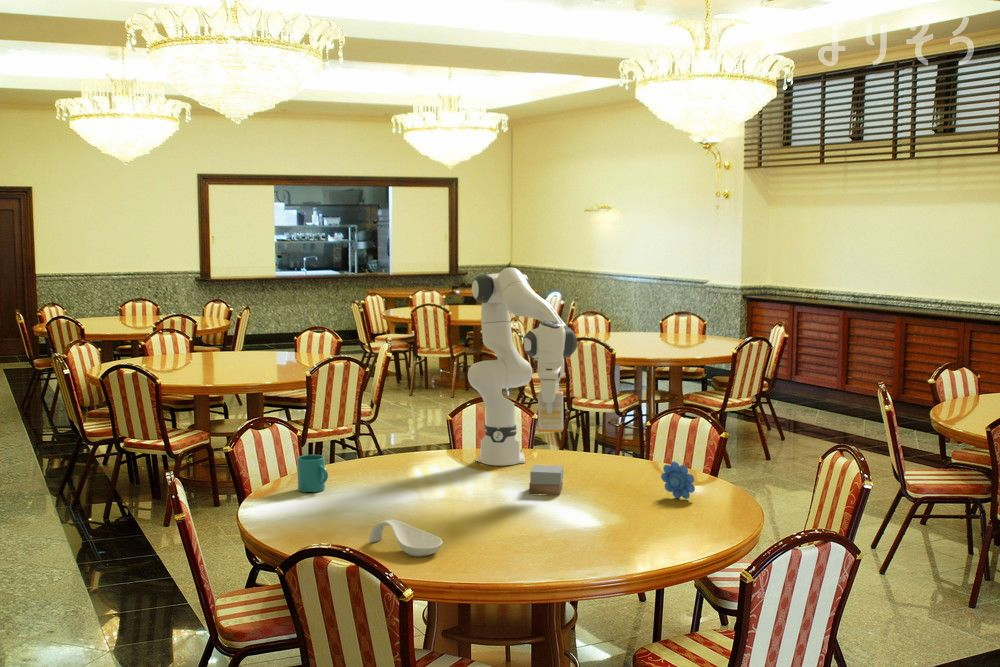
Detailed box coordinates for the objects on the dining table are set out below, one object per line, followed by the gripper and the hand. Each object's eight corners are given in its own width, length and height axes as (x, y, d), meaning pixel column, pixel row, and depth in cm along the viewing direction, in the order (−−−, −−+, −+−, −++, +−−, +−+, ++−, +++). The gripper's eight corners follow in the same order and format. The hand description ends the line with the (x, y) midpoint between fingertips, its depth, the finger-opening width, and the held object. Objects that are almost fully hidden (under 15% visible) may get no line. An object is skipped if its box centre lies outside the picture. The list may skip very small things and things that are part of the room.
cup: (317, 496, 330) (316, 462, 329) (292, 491, 337) (291, 458, 336) (337, 490, 337) (336, 457, 336) (311, 485, 344) (311, 453, 343)
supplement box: (563, 429, 336) (563, 391, 335) (562, 432, 331) (562, 393, 330) (539, 429, 337) (539, 390, 336) (537, 431, 332) (537, 392, 331)
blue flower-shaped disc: (655, 498, 325) (656, 462, 324) (663, 494, 331) (664, 458, 329) (689, 503, 319) (690, 466, 318) (697, 499, 324) (697, 462, 323)
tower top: (533, 476, 341) (533, 465, 340) (563, 477, 339) (563, 466, 339) (530, 483, 331) (530, 471, 330) (560, 484, 329) (560, 472, 329)
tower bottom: (533, 488, 341) (533, 476, 341) (562, 489, 339) (562, 477, 339) (529, 495, 331) (529, 483, 331) (559, 496, 330) (559, 484, 329)
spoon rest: (451, 552, 271) (451, 526, 270) (421, 564, 261) (421, 537, 261) (388, 536, 285) (388, 512, 284) (358, 547, 276) (357, 521, 275)
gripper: (544, 366, 343) (544, 406, 344) (537, 374, 323) (537, 416, 324) (563, 366, 342) (563, 406, 343) (557, 375, 322) (557, 417, 323)
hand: (550, 411), depth 333 cm, fingers closed on supplement box, 5 cm apart
